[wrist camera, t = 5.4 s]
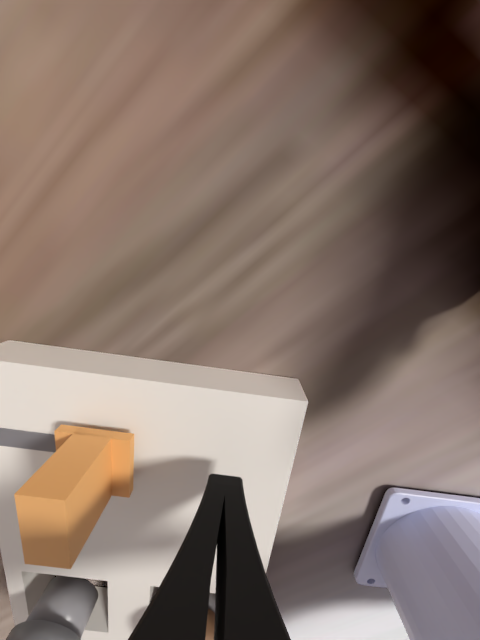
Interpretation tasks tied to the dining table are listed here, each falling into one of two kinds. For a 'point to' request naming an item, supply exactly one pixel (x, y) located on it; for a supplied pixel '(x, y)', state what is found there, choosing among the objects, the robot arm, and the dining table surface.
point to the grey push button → (59, 611)
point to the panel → (141, 462)
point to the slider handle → (72, 493)
